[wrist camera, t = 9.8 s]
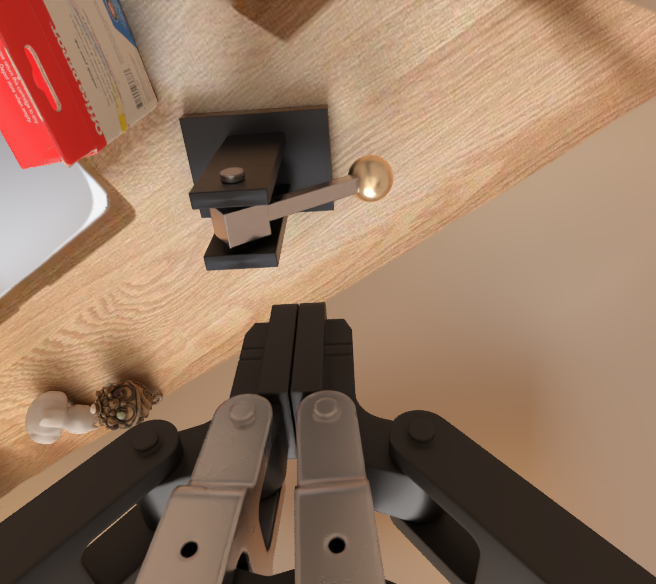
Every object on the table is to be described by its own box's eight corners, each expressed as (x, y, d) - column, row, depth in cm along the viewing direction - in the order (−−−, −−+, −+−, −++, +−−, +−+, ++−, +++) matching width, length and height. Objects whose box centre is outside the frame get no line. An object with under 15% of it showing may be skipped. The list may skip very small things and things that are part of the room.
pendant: (74, 405, 50) (91, 372, 48) (143, 394, 56) (161, 365, 54) (91, 446, 47) (109, 414, 45) (161, 430, 53) (180, 401, 51)
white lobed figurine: (20, 439, 52) (100, 444, 56) (17, 445, 47) (106, 450, 50) (33, 388, 54) (110, 396, 57) (32, 388, 48) (117, 396, 52)
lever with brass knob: (374, 146, 35) (403, 156, 33) (374, 188, 37) (402, 200, 34) (203, 192, 29) (224, 208, 27) (213, 240, 31) (234, 258, 29)
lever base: (327, 104, 36) (324, 157, 26) (333, 204, 41) (334, 285, 30) (183, 114, 37) (121, 170, 26) (204, 211, 41) (159, 294, 30)
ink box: (44, -7, 33) (-130, 3, 20) (112, -25, 32) (-26, -27, 20) (102, 120, 37) (-12, 191, 25) (162, 107, 37) (76, 172, 24)
